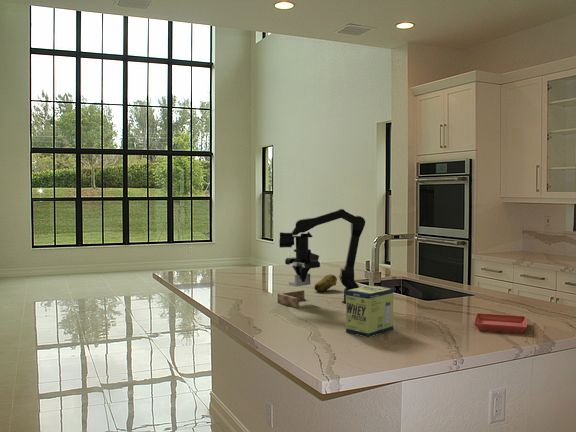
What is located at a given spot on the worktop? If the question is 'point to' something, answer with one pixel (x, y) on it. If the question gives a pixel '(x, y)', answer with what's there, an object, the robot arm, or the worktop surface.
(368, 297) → the protein box
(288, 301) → the wooden corner frame
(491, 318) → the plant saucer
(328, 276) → the potato
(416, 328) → the worktop surface
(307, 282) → the bracket
